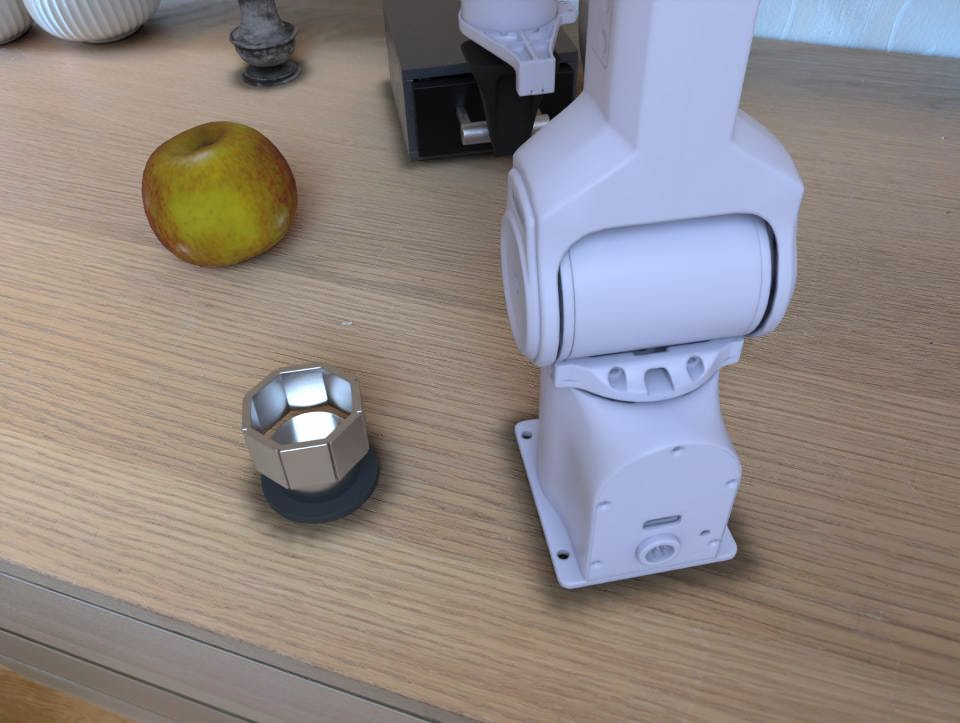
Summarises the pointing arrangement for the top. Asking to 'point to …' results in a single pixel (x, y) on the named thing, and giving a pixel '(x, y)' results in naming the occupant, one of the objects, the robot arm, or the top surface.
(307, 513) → the coaster
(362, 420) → the silver hollow octagonal piece
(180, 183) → the fruit
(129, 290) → the top surface
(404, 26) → the cabinet
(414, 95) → the drawer
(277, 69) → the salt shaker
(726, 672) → the top surface
